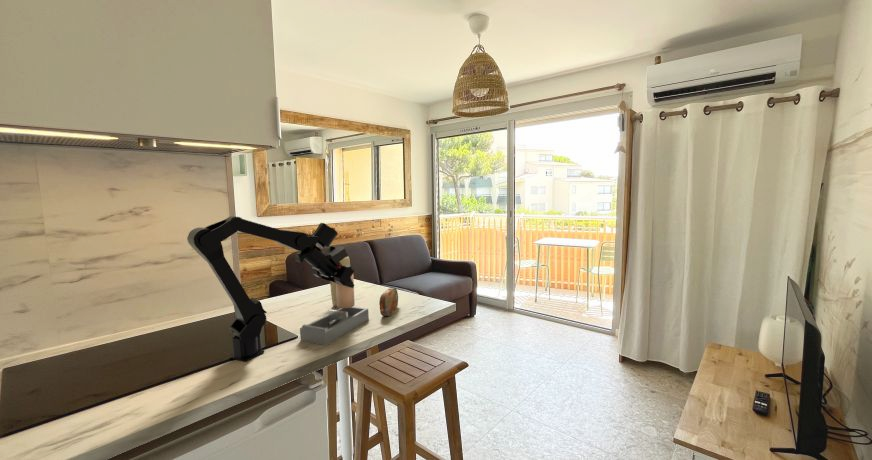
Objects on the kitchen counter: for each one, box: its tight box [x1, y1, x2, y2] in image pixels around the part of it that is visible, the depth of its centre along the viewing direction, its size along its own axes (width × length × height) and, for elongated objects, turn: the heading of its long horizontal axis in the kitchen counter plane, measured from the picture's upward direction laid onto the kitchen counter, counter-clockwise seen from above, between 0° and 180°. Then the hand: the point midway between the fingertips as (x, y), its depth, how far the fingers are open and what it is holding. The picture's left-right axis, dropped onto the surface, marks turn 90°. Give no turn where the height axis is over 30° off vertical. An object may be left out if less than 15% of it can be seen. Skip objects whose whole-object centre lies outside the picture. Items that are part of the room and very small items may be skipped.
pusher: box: [327, 309, 348, 326], centre depth 121 cm, size 5×7×5 cm
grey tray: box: [299, 306, 370, 346], centre depth 122 cm, size 23×10×5 cm, turn 157°
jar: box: [336, 273, 356, 309], centre depth 127 cm, size 6×6×13 cm
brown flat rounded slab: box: [379, 287, 399, 317], centre depth 138 cm, size 15×3×8 cm, turn 168°
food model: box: [329, 255, 351, 307], centre depth 147 cm, size 10×7×20 cm
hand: (348, 285), depth 128 cm, fingers closed on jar, 6 cm apart
